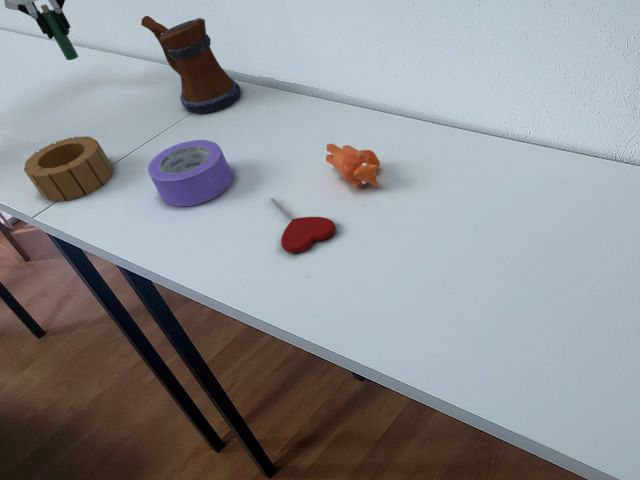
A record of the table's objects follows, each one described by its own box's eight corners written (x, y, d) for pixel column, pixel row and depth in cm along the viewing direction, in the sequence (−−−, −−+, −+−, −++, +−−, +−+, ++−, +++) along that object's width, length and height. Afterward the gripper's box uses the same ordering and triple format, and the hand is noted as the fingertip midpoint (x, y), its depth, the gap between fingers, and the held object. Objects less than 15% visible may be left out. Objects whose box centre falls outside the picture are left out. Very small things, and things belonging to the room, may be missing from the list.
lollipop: (249, 213, 97) (291, 258, 89) (246, 208, 97) (289, 252, 88) (295, 190, 100) (341, 231, 91) (294, 185, 99) (339, 226, 91)
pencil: (66, 61, 132) (36, 8, 125) (66, 57, 134) (37, 5, 127) (78, 58, 133) (49, 5, 125) (78, 54, 134) (50, 2, 127)
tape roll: (246, 180, 104) (234, 153, 101) (183, 216, 99) (168, 188, 96) (210, 158, 111) (198, 132, 107) (150, 191, 106) (134, 164, 102)
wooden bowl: (39, 209, 106) (20, 183, 103) (45, 174, 114) (28, 149, 111) (112, 187, 108) (96, 161, 104) (113, 154, 116) (98, 129, 112)
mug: (154, 101, 129) (115, 24, 118) (199, 76, 135) (166, 1, 124) (207, 120, 121) (170, 39, 110) (253, 92, 126) (222, 13, 115)
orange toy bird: (314, 138, 99) (358, 164, 92) (354, 133, 103) (399, 157, 97) (314, 170, 102) (357, 197, 95) (354, 163, 106) (397, 188, 100)
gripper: (-49, -55, 113) (16, 51, 126) (45, -75, 115) (99, 31, 129) (-41, -65, 118) (20, 38, 131) (49, -84, 120) (100, 19, 134)
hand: (59, 33), depth 130 cm, fingers closed on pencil, 2 cm apart
